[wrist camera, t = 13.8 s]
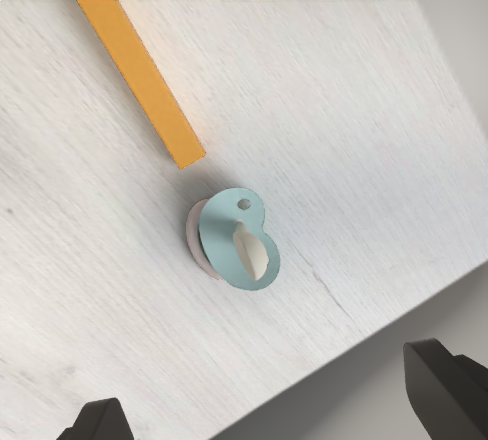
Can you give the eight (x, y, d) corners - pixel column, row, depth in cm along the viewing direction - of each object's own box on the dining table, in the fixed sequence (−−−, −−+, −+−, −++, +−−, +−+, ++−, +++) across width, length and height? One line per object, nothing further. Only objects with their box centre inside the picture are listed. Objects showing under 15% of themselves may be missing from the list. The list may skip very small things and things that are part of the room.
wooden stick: (73, -16, 18) (56, -31, 17) (99, -33, 18) (85, -50, 16) (183, 166, 22) (179, 170, 20) (206, 153, 21) (204, 155, 20)
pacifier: (208, 288, 24) (283, 265, 24) (199, 342, 18) (298, 313, 18) (172, 201, 22) (253, 174, 22) (148, 229, 16) (259, 193, 16)
